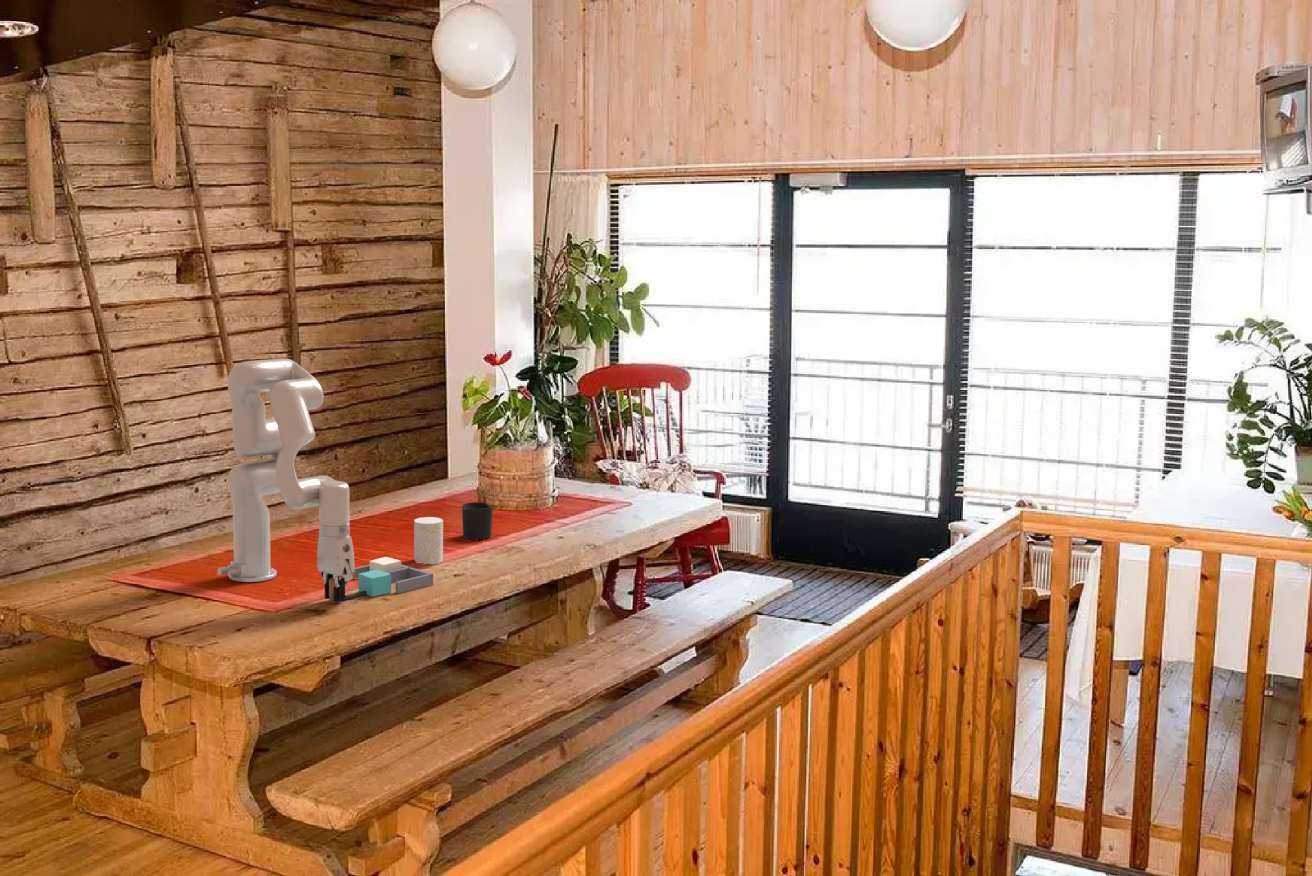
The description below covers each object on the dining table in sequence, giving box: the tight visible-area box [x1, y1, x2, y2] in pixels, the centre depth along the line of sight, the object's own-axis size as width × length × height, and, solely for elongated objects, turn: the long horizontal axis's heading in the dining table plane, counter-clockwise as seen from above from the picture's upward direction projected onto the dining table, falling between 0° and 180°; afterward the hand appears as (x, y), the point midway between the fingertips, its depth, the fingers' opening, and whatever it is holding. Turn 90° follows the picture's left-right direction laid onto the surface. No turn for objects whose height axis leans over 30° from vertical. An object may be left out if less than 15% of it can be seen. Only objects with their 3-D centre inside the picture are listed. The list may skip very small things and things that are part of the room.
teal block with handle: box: [328, 570, 392, 605], centre depth 339 cm, size 17×6×6 cm, turn 139°
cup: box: [413, 516, 444, 565], centre depth 375 cm, size 8×8×12 cm
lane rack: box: [352, 563, 434, 594], centre depth 354 cm, size 12×19×3 cm, turn 50°
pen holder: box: [461, 501, 494, 540], centre depth 404 cm, size 9×9×10 cm
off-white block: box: [369, 556, 402, 572], centre depth 357 cm, size 6×6×5 cm
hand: (334, 598), depth 334 cm, fingers closed on teal block with handle, 3 cm apart
